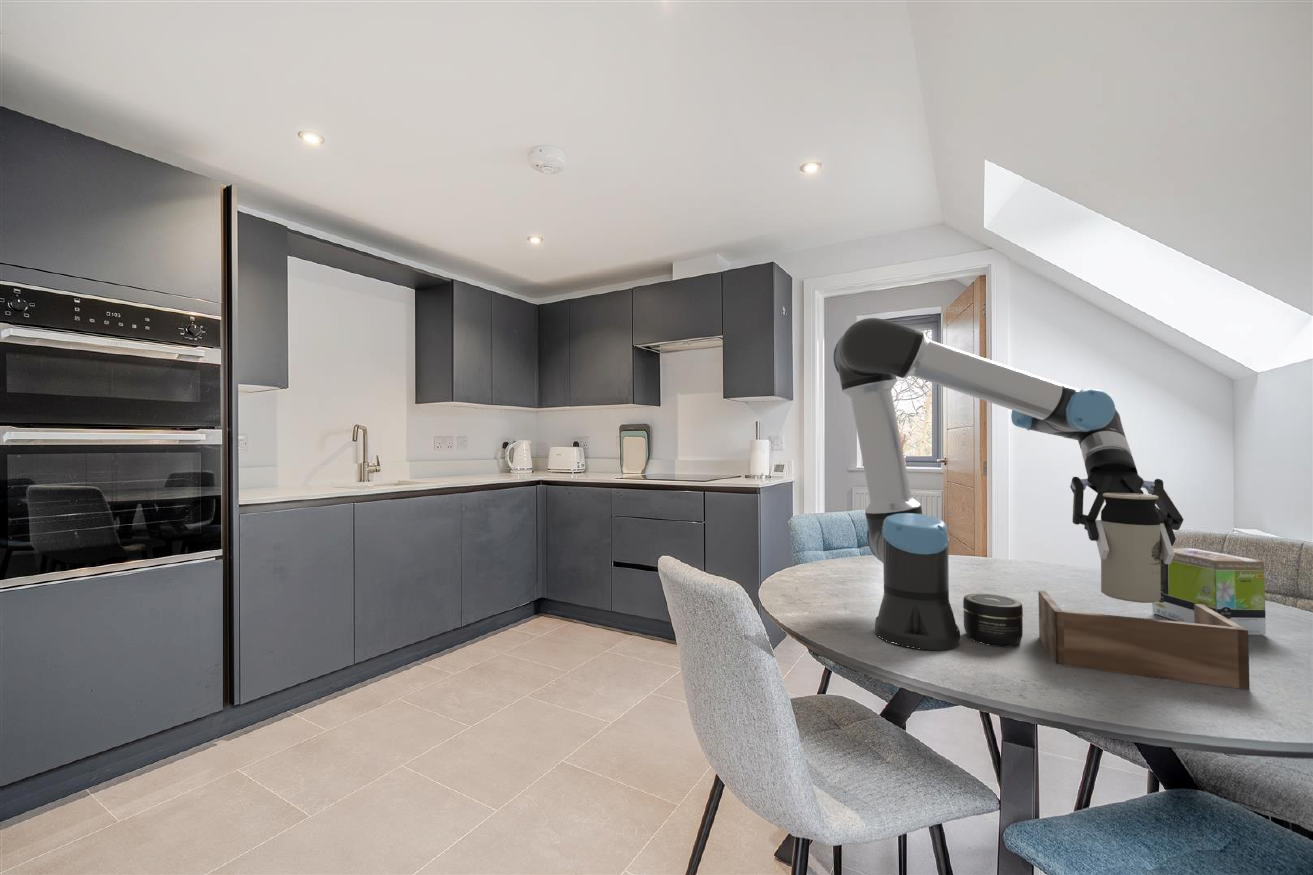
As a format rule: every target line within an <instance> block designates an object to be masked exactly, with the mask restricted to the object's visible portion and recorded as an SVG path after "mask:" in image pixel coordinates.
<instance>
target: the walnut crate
mask: <svg viewBox="0 0 1313 875" xmlns="http://www.w3.org/2000/svg"><path fill="white" fill-rule="evenodd" d="M1037 591H1038V631H1039V632H1038V634H1039V635H1038V636H1039V639H1040V641H1041V642H1042V644H1043V645H1044V647H1045V649H1046V650H1047V652H1048V653H1049V655H1050V657H1051V658H1052V660H1053V662H1054V663H1055V665H1058V666H1065V667H1066V666H1067V667H1073V668H1079V669H1080V668H1081V669H1088V670H1089V669H1090V670H1097V671H1103V672H1104V671H1105V672H1113V673H1119V674H1126V675H1133V676H1134V675H1136V676H1143V677H1150V678H1156V679H1157V678H1159V679H1163V680H1164V679H1165V680H1174V681H1180V682H1187V683H1196V684H1202V685H1203V684H1204V685H1211V686H1218V687H1224V688H1225V687H1226V688H1232V689H1233V688H1234V689H1240V690H1241V689H1242V690H1249V691H1250V690H1251V689H1250V687H1251V686H1250V685H1251V684H1250V656H1249V655H1250V652H1249V651H1250V648H1249V635H1248V630H1247V629H1245V628H1243V627H1241V626H1239V625H1238V624H1236V623H1234V622H1232V621H1231V620H1229V619H1227V618H1225V617H1224V616H1222V615H1220V614H1218V613H1217V612H1215V611H1213V610H1211V609H1210V608H1208V607H1206V606H1204V605H1200V604H1194V621H1195V623H1186V622H1178V621H1175V620H1166V619H1165V620H1164V619H1154V618H1144V617H1143V618H1142V617H1132V616H1123V615H1122V616H1121V615H1113V614H1103V613H1102V614H1101V613H1095V612H1094V613H1092V612H1083V611H1081V612H1080V611H1074V610H1073V611H1071V610H1062V609H1061V607H1060V606H1059V605H1058V604H1057V603H1056V602H1055V600H1054V599H1053V598H1052V597H1051V596H1050V594H1049V592H1047V591H1046V590H1045V591H1044V590H1037Z"/></svg>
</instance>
